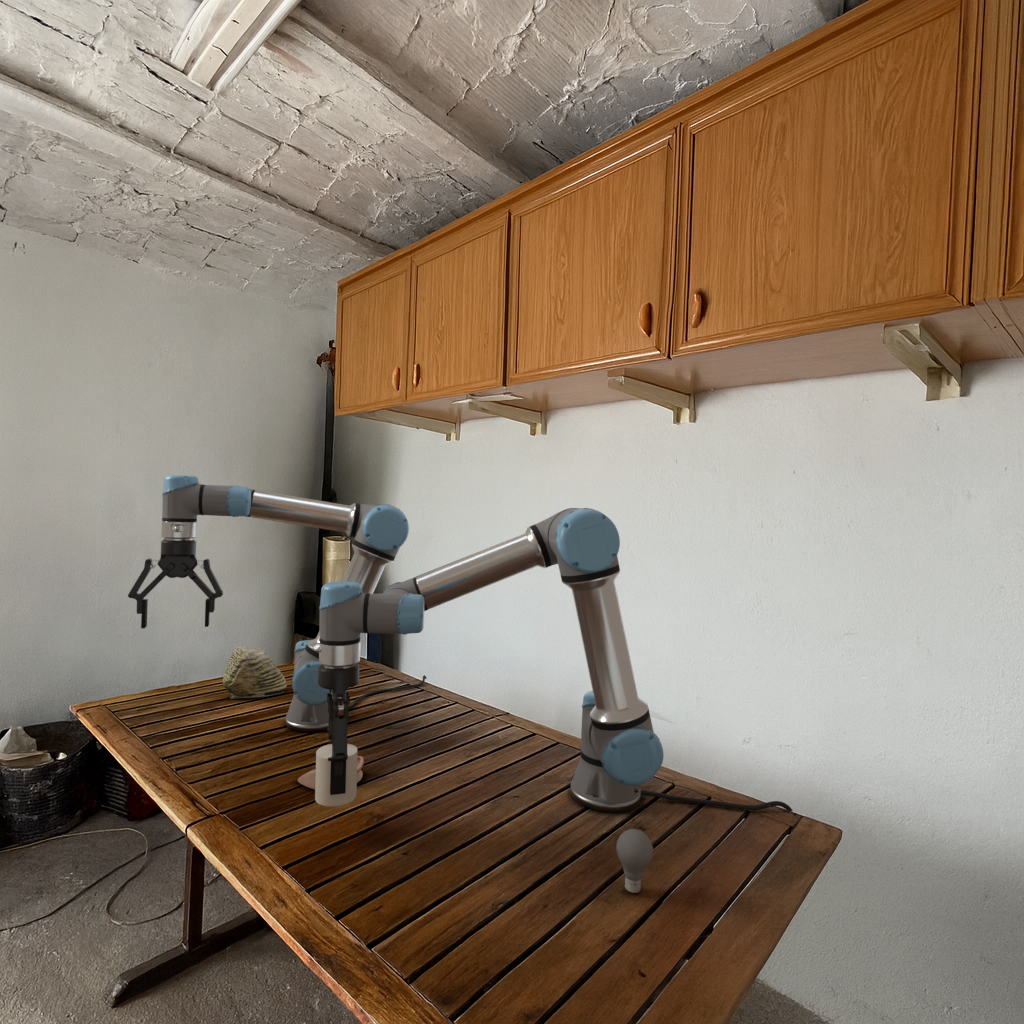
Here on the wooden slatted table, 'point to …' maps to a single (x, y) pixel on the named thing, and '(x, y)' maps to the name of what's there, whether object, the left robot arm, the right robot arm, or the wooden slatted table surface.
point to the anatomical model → (310, 777)
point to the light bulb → (634, 857)
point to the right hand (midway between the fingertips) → (336, 783)
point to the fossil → (252, 674)
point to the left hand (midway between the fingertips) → (175, 626)
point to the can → (324, 777)
